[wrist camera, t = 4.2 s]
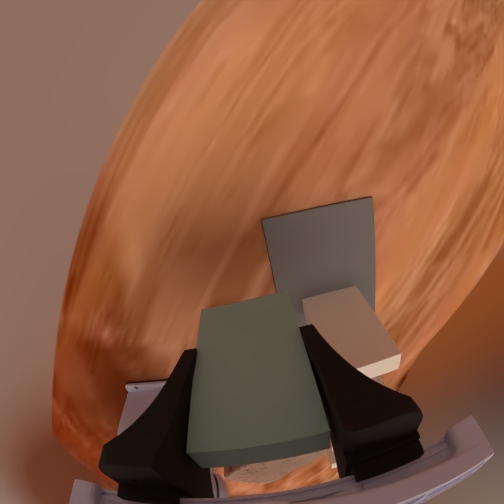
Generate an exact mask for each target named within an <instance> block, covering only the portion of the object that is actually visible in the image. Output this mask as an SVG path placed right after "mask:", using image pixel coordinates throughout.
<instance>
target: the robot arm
mask: <svg viewBox="0 0 504 504" xmlns="http://www.w3.org/2000/svg"><path fill="white" fill-rule="evenodd" d="M299 329H300V333H301V336H302V339H303V342H304V345H305V348H306V352H307V355H308V358H309V361H310V365H311V368H312V371H313V375H314V378H315V381H316V385H317V388H318V391H319V395H320V398H321V401H322V405H323V408H324V412H325V415H326V418H327V422H328V425H329V429H330V439H331V443H332V447H333V451H334V455H335V460H336V464H337V469H338V473H339V478H340V479H337V480H333V481H329V482H325V483H321V484H317V485H313V486H308V487H303V488H298V489H293V490H288V491H282V492H275V493H268V494H260V495H252V496H241V497H228V490H227V485H226V483H225V481H224V480H223V479H222V477H221V476H220V475H219V474H216V473H214V468H201V467H200V466H199V465H198V464H197V463H196V462H195V461H194V460H193V459H192V458H191V457H190V456H189V455H188V454H187V453H186V449H187V436H188V425H189V414H190V403H191V393H192V383H193V376H194V371H195V367H196V359H197V349H196V348H195V349H189V350H185V351H184V352H183V354H182V356H181V357H180V359H179V361H178V363H177V364H176V366H175V368H174V370H173V372H172V373H171V375H170V377H169V378H168V380H167V381H157V382H145V383H130V384H126V386H125V388H126V389H127V391H128V394H127V398H126V401H125V405H124V408H123V412H122V416H121V419H120V423H119V427H118V436H117V437H115V438H114V439H112V440H111V441H109V442H108V443H106V444H105V445H104V446H103V450H102V453H101V457H100V461H99V469H100V470H101V472H103V473H104V474H105V475H107V476H108V477H110V478H111V479H113V480H114V481H116V482H117V483H119V486H118V492H116V491H110V490H104V489H102V488H101V487H100V486H98V485H96V484H94V483H91V482H87V481H82V480H79V479H75V481H74V485H73V489H72V493H71V498H70V502H69V504H421V503H423V502H425V501H427V500H429V499H430V498H432V497H434V496H436V495H438V494H440V493H441V492H443V491H445V490H447V489H449V488H450V487H452V486H454V485H455V484H457V483H459V482H460V481H462V480H463V479H465V478H467V477H468V476H470V475H471V474H473V473H474V472H475V471H476V470H477V469H478V468H480V467H481V466H482V465H483V464H484V463H485V462H486V461H487V460H488V459H489V458H490V457H491V456H493V454H494V452H493V450H492V448H491V446H490V445H489V443H488V441H487V439H486V437H485V436H484V434H483V432H482V430H481V429H480V427H479V426H478V424H477V422H476V420H475V419H474V417H473V416H469V417H468V418H466V419H465V420H463V421H461V422H459V423H458V424H456V425H454V426H453V427H451V428H450V429H449V430H448V431H447V432H446V434H445V436H444V437H442V438H441V439H439V440H437V441H435V442H433V443H431V444H429V445H427V446H425V447H423V448H422V445H421V443H420V441H419V438H420V435H419V433H418V431H417V429H418V427H419V425H420V423H421V421H422V418H423V415H422V412H421V410H420V408H419V407H418V406H417V404H416V403H415V402H414V401H413V399H412V398H411V397H409V396H407V395H404V394H401V393H399V392H396V391H394V390H392V389H390V388H387V387H385V386H383V385H382V384H380V383H378V382H376V381H374V380H373V379H371V378H369V377H368V376H366V375H365V374H363V373H362V372H360V371H359V370H357V369H356V368H355V367H353V366H352V365H351V364H350V363H348V362H347V361H346V360H345V359H344V358H343V357H342V356H340V355H339V354H338V353H337V352H336V351H335V350H334V349H333V348H332V347H331V346H330V345H329V344H328V342H327V341H326V340H325V339H324V338H323V337H322V335H321V334H320V333H319V332H318V330H317V329H316V327H315V326H314V325H313V324H309V325H306V326H302V327H299Z"/></svg>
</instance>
